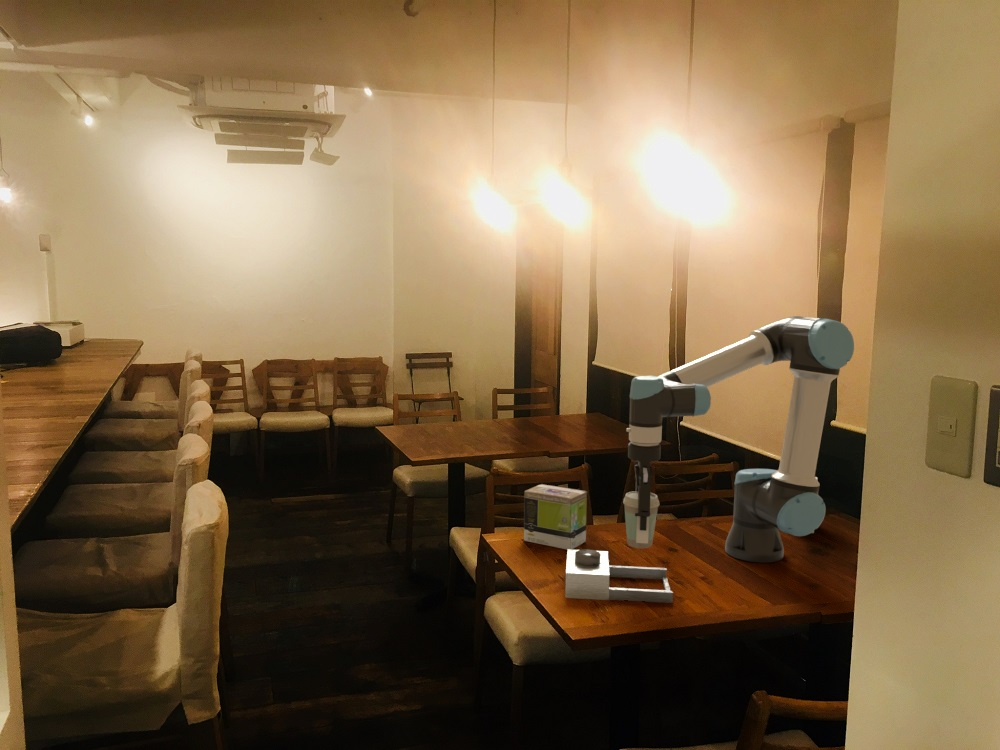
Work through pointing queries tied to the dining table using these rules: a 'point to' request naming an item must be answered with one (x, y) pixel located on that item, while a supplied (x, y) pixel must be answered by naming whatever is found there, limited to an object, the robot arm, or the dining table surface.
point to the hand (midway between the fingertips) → (640, 536)
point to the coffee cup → (631, 519)
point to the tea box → (555, 516)
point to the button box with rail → (592, 579)
